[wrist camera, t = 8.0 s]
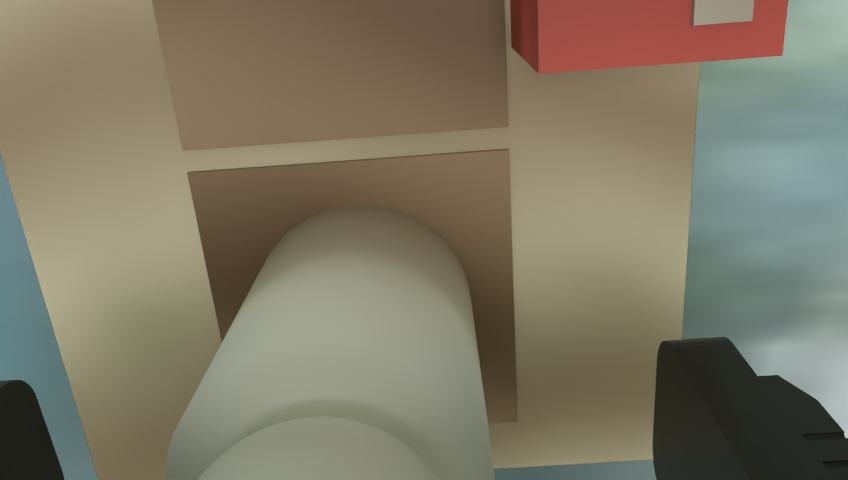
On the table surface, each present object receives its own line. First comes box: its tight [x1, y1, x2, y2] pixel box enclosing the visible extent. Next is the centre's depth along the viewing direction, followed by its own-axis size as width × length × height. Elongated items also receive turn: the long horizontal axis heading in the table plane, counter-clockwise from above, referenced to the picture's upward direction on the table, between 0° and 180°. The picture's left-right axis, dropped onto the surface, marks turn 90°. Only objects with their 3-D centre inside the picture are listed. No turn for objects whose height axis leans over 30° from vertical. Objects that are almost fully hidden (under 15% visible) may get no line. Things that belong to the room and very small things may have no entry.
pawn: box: [165, 205, 495, 480], centre depth 10 cm, size 4×4×8 cm
